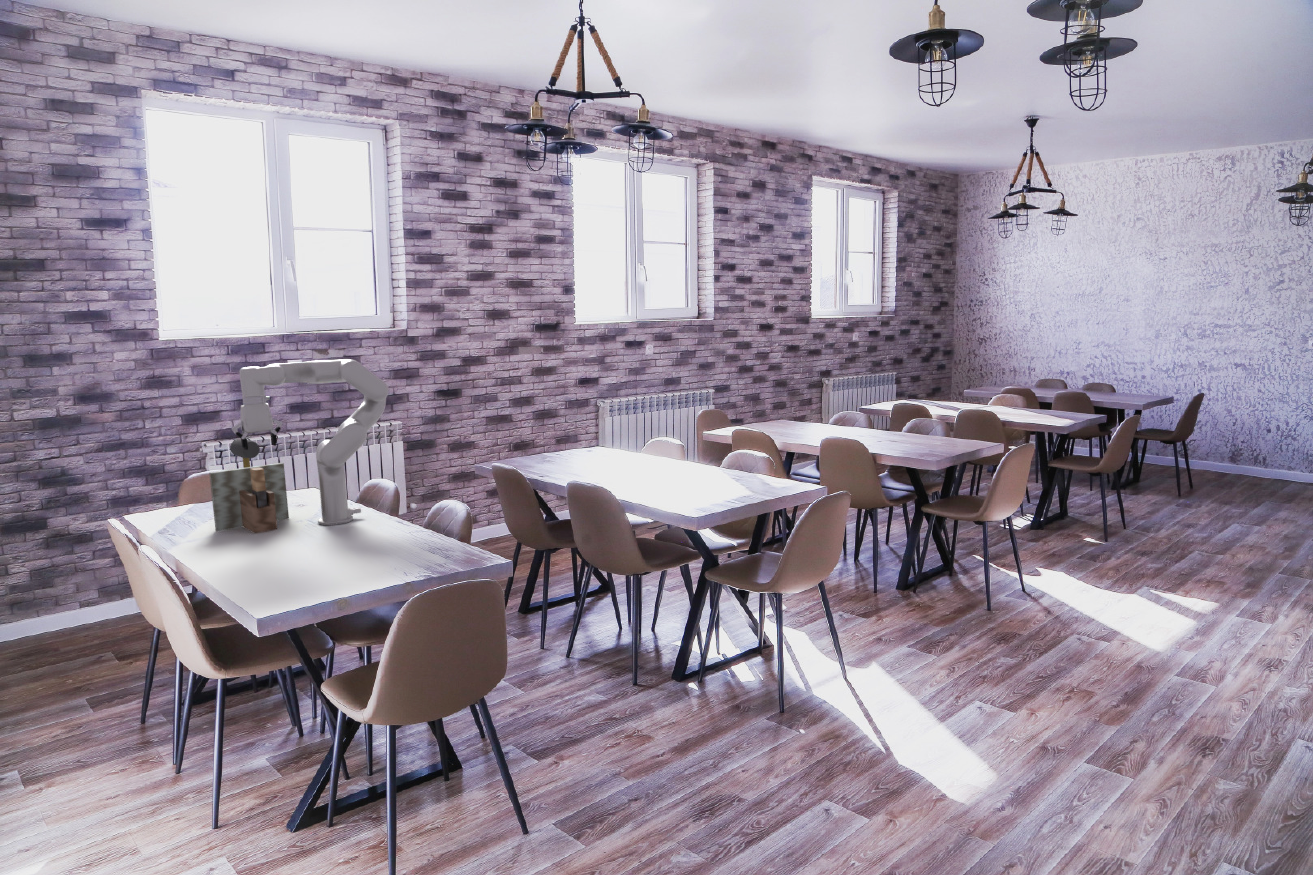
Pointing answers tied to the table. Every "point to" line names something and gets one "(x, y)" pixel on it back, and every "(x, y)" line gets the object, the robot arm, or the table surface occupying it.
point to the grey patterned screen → (248, 499)
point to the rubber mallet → (245, 451)
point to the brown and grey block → (259, 486)
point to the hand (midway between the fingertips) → (260, 447)
